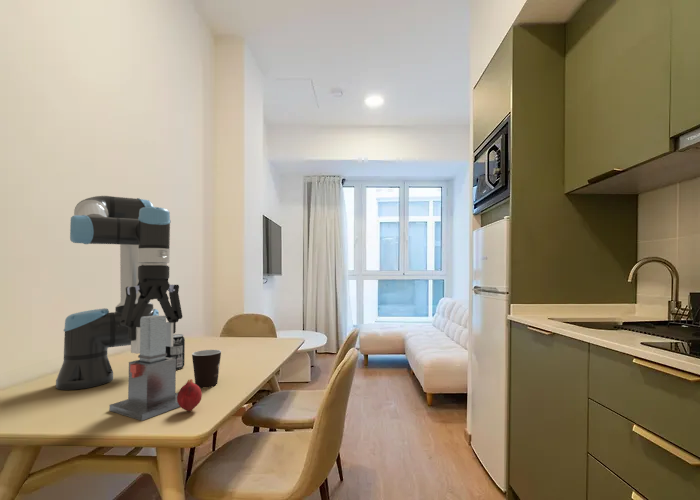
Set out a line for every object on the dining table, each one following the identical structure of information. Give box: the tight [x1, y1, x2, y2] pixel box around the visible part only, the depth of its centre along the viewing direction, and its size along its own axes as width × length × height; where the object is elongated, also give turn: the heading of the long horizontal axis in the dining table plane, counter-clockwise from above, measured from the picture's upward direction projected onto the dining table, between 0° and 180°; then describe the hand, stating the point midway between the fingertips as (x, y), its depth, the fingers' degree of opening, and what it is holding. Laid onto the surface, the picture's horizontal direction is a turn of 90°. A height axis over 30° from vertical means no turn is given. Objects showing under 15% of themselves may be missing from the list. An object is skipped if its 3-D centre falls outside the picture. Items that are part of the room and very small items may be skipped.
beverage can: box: [166, 333, 186, 371], centre depth 137 cm, size 7×7×12 cm
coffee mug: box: [191, 349, 222, 389], centre depth 118 cm, size 12×9×10 cm
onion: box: [177, 378, 203, 413], centre depth 94 cm, size 6×6×8 cm
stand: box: [108, 357, 181, 421], centre depth 98 cm, size 14×14×12 cm
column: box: [137, 314, 167, 364], centre depth 99 cm, size 5×5×22 cm
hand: (152, 349), depth 99 cm, fingers open, 9 cm apart
